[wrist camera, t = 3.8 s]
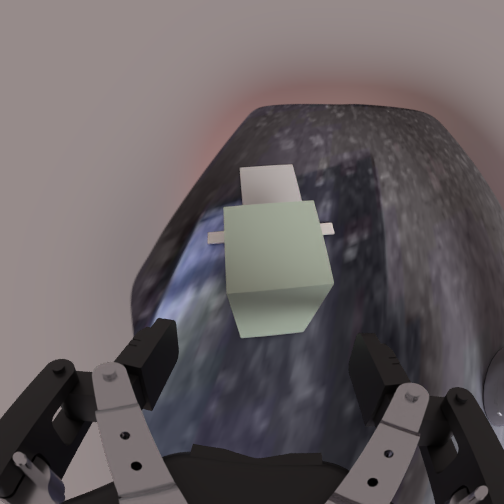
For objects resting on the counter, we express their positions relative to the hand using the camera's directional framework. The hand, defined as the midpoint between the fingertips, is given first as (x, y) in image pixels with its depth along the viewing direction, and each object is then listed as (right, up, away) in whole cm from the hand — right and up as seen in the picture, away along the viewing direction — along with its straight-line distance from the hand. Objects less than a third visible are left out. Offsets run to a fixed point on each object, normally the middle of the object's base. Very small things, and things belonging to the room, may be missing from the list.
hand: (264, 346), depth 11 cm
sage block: (+1, 0, +11) cm, 11 cm away
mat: (+1, +11, +17) cm, 21 cm away
